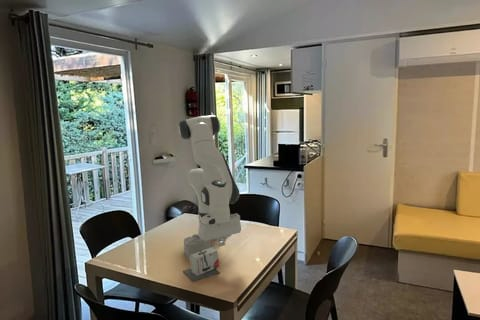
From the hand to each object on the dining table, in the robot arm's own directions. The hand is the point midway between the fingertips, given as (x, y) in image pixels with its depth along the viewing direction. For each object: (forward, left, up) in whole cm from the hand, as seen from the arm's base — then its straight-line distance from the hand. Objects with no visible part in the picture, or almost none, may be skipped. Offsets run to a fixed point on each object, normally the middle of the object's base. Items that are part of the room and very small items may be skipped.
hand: (221, 245), depth 157 cm
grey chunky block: (+3, -21, -10) cm, 24 cm away
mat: (+11, 0, -10) cm, 15 cm away
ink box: (+3, 0, -5) cm, 5 cm away
